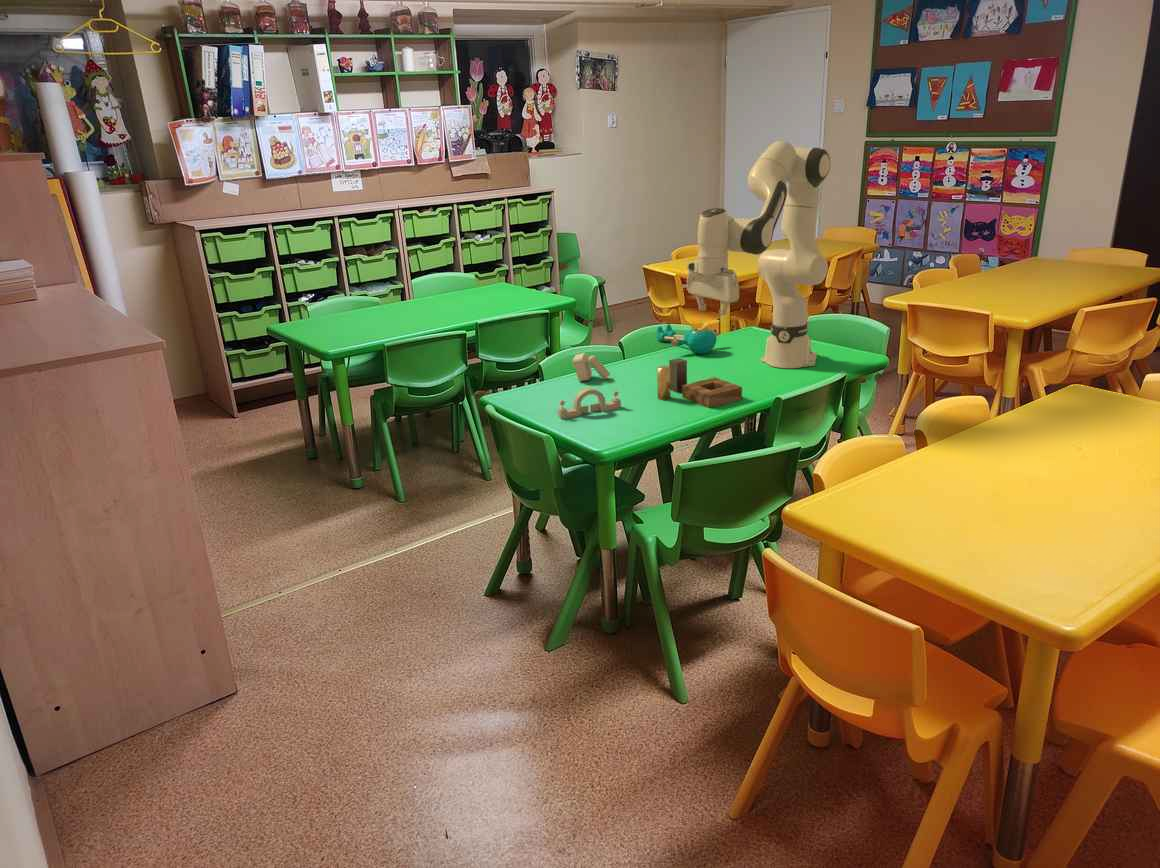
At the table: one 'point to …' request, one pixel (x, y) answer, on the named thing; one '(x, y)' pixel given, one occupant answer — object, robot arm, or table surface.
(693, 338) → the toy
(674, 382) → the steel square bit
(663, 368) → the cylinder
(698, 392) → the walnut bore block
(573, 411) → the gateway
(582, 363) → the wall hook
